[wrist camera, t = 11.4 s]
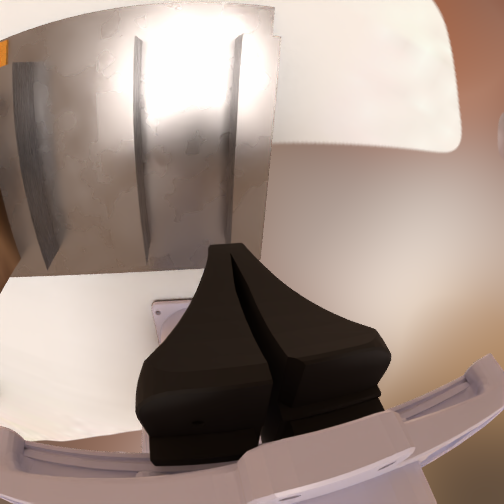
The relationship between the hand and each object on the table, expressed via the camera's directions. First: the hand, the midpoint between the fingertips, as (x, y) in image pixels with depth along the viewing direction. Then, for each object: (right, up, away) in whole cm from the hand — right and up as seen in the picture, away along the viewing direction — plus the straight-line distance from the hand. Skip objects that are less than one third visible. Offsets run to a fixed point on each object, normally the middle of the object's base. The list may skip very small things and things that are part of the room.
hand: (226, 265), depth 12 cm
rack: (-11, +7, +5) cm, 14 cm away
